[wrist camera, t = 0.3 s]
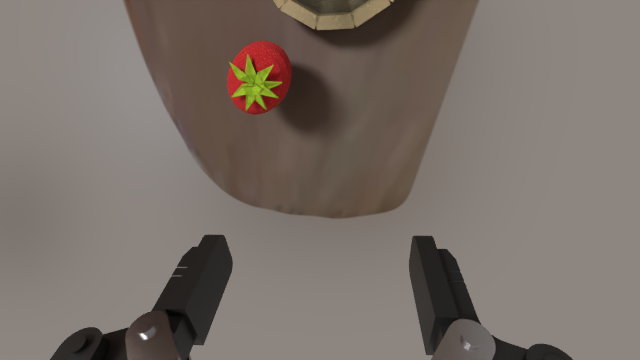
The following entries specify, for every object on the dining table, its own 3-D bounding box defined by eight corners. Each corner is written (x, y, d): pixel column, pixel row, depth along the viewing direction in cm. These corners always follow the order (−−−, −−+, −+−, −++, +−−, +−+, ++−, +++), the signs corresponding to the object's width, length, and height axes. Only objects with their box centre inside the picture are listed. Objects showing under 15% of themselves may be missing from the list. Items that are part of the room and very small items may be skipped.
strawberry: (233, 78, 36) (200, 109, 28) (263, 18, 32) (234, 34, 24) (277, 105, 38) (257, 143, 30) (310, 52, 34) (298, 78, 26)
